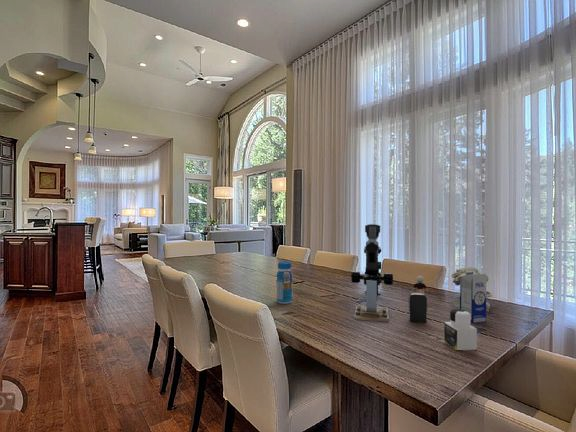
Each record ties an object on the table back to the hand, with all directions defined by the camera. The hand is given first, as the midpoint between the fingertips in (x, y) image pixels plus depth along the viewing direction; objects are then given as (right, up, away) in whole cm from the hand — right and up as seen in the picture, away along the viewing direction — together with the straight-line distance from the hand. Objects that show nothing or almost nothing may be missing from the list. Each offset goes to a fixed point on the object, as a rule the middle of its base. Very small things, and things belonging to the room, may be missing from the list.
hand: (371, 293), depth 141 cm
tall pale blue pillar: (0, -7, -1) cm, 7 cm away
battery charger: (+16, -9, -11) cm, 21 cm away
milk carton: (+40, -9, -10) cm, 42 cm away
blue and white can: (-39, -8, +17) cm, 44 cm away
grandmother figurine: (+29, -8, +18) cm, 36 cm away
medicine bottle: (+20, -9, -35) cm, 42 cm away
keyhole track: (-1, -8, -3) cm, 9 cm away
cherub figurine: (+51, -8, +12) cm, 53 cm away
